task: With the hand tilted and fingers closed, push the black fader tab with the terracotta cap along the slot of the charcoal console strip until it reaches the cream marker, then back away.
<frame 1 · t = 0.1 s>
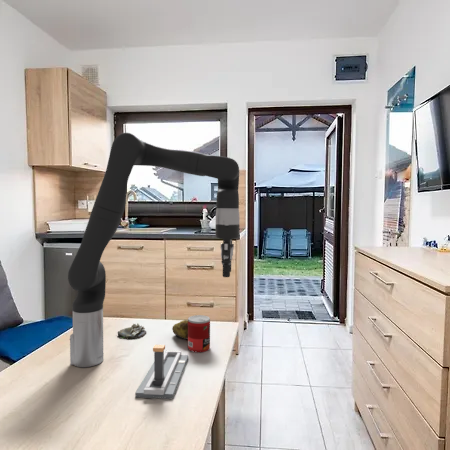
hand: (227, 274, 111), 29 cm above the table, tool pointing down, fingers open, 8 cm apart
potato: (184, 339, 135), on the table
canned food: (199, 349, 126), on the table
grey rough oval piece: (132, 335, 140), on the table
fader tab: (159, 364, 98), point 6 cm above the table, slide at -7.0 cm
console: (164, 375, 105), on the table
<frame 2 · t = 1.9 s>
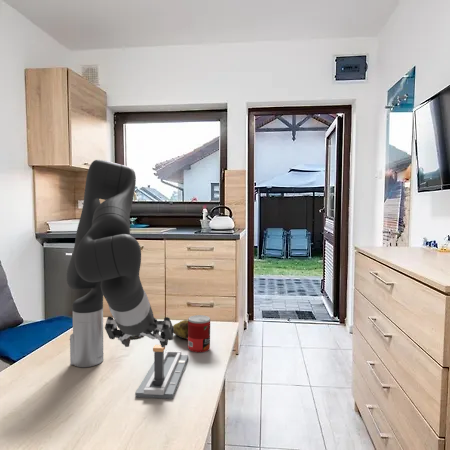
hand: (146, 343, 83), 18 cm above the table, tool tilted 45°, fingers open, 8 cm apart
nothing on the table moved.
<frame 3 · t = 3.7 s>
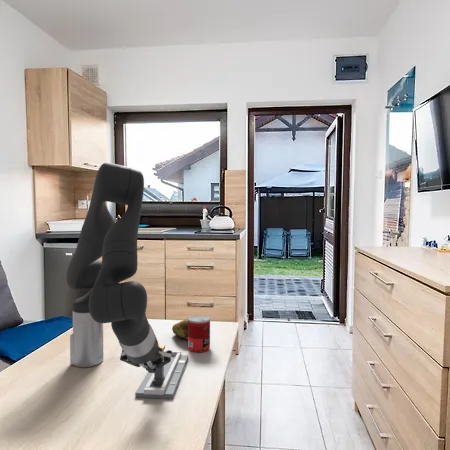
hand: (152, 369, 91), 8 cm above the table, tool tilted 45°, fingers closed
nothing on the table moved.
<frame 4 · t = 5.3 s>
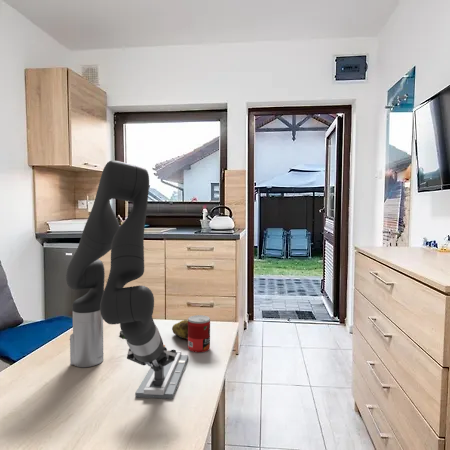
hand: (157, 367, 96), 6 cm above the table, tool tilted 45°, fingers closed
fader tab: (159, 364, 98), point 6 cm above the table, slide at -6.9 cm, touching gripper
everything else where it was.
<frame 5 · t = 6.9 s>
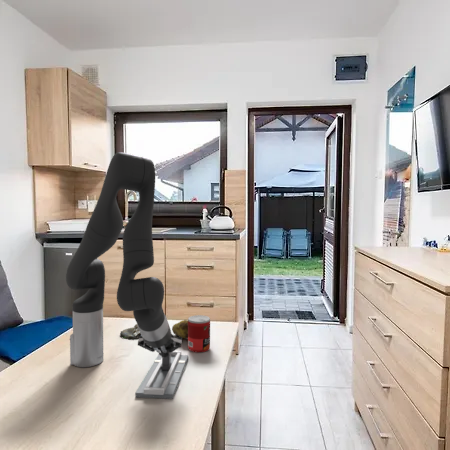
hand: (164, 354, 105), 6 cm above the table, tool tilted 45°, fingers closed
fader tab: (166, 351, 107), point 7 cm above the table, slide at 2.1 cm, touching gripper
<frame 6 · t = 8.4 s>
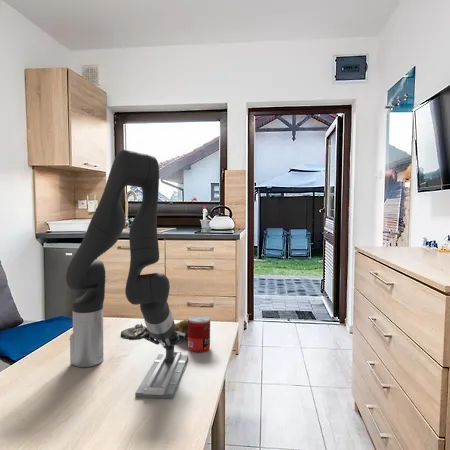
hand: (168, 347, 111), 6 cm above the table, tool tilted 45°, fingers closed
fader tab: (170, 344, 112), point 7 cm above the table, slide at 7.5 cm, touching gripper
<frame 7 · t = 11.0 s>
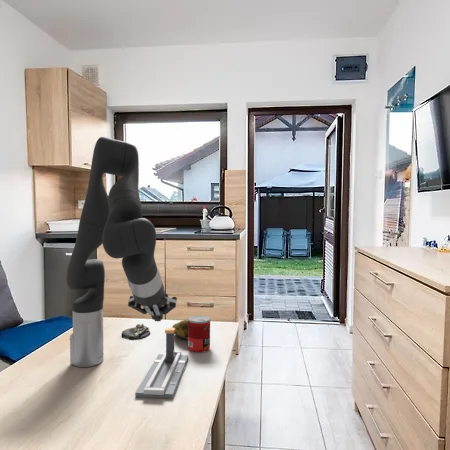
hand: (158, 318, 96), 20 cm above the table, tool tilted 45°, fingers closed
fader tab: (170, 344, 112), point 6 cm above the table, slide at 7.5 cm
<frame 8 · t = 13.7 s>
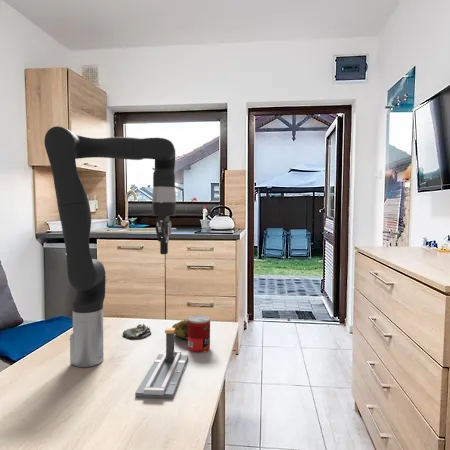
hand: (164, 254, 116), 35 cm above the table, tool pointing down, fingers closed
at the end: fader tab slide at 7.5 cm; the gripper is holding nothing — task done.
